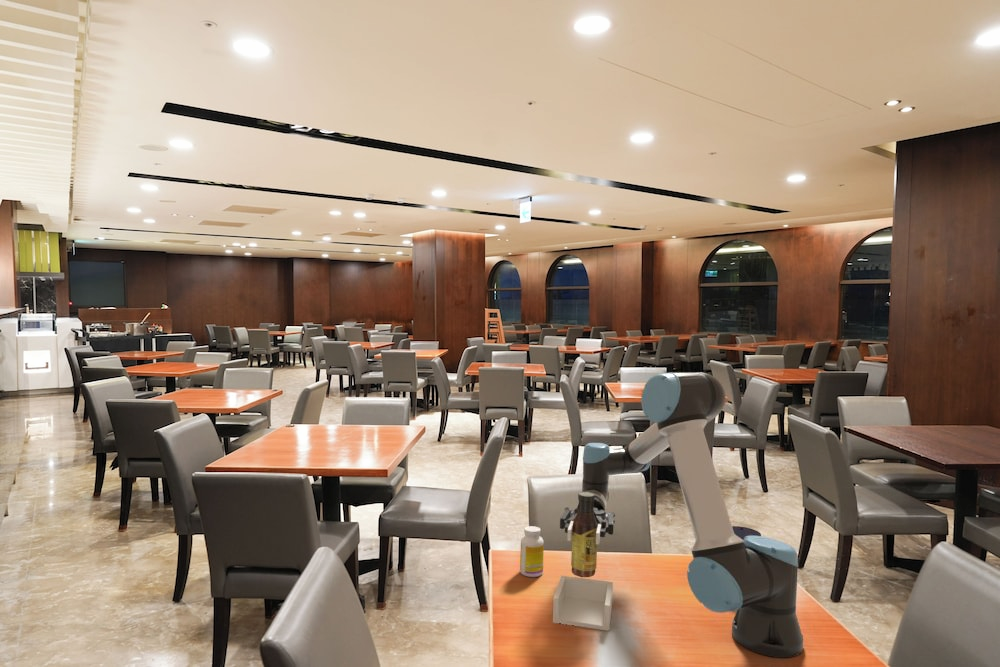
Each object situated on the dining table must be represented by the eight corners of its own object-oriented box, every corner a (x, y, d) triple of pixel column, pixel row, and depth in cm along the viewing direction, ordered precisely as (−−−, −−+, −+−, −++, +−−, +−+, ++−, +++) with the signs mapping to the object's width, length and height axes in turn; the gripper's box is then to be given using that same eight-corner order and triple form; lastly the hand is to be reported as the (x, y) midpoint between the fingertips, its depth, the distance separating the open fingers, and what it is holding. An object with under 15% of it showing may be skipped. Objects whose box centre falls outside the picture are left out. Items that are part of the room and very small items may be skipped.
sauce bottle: (588, 581, 145) (590, 500, 144) (566, 574, 148) (568, 494, 148) (601, 572, 150) (603, 493, 149) (579, 565, 154) (581, 489, 153)
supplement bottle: (547, 574, 171) (548, 530, 171) (529, 579, 168) (530, 534, 167) (533, 566, 177) (534, 523, 176) (515, 571, 173) (516, 527, 173)
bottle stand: (560, 598, 157) (561, 575, 157) (612, 605, 154) (612, 582, 154) (552, 622, 144) (553, 598, 144) (609, 630, 141) (609, 605, 141)
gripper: (626, 524, 164) (623, 557, 141) (557, 517, 168) (543, 547, 146) (627, 497, 164) (624, 526, 141) (558, 490, 168) (544, 517, 146)
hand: (583, 536), depth 144 cm, fingers closed on sauce bottle, 6 cm apart
